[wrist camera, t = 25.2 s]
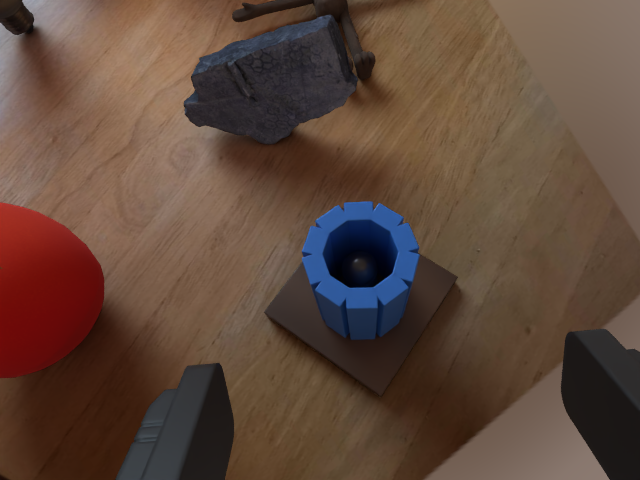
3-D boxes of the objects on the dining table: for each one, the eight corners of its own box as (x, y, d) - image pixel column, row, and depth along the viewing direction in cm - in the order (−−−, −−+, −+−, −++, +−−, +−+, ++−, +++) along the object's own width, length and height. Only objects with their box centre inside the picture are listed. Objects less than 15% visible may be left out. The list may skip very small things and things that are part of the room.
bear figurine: (250, 89, 41) (215, -43, 45) (259, 117, 45) (226, -7, 50) (459, 33, 41) (405, -93, 46) (450, 65, 46) (400, -53, 50)
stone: (203, 172, 42) (158, 95, 33) (192, 115, 44) (147, 29, 35) (361, 128, 42) (361, 40, 33) (342, 74, 45) (336, -22, 36)
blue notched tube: (375, 358, 34) (377, 333, 26) (298, 305, 36) (279, 266, 28) (424, 284, 36) (441, 239, 28) (348, 237, 37) (344, 182, 30)
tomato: (-36, 363, 37) (-221, 326, 26) (35, 235, 41) (-97, 151, 29) (94, 411, 35) (-42, 394, 24) (157, 271, 39) (67, 195, 27)
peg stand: (380, 397, 34) (384, 385, 27) (266, 316, 37) (241, 284, 30) (455, 281, 37) (478, 241, 29) (343, 214, 40) (338, 161, 32)
